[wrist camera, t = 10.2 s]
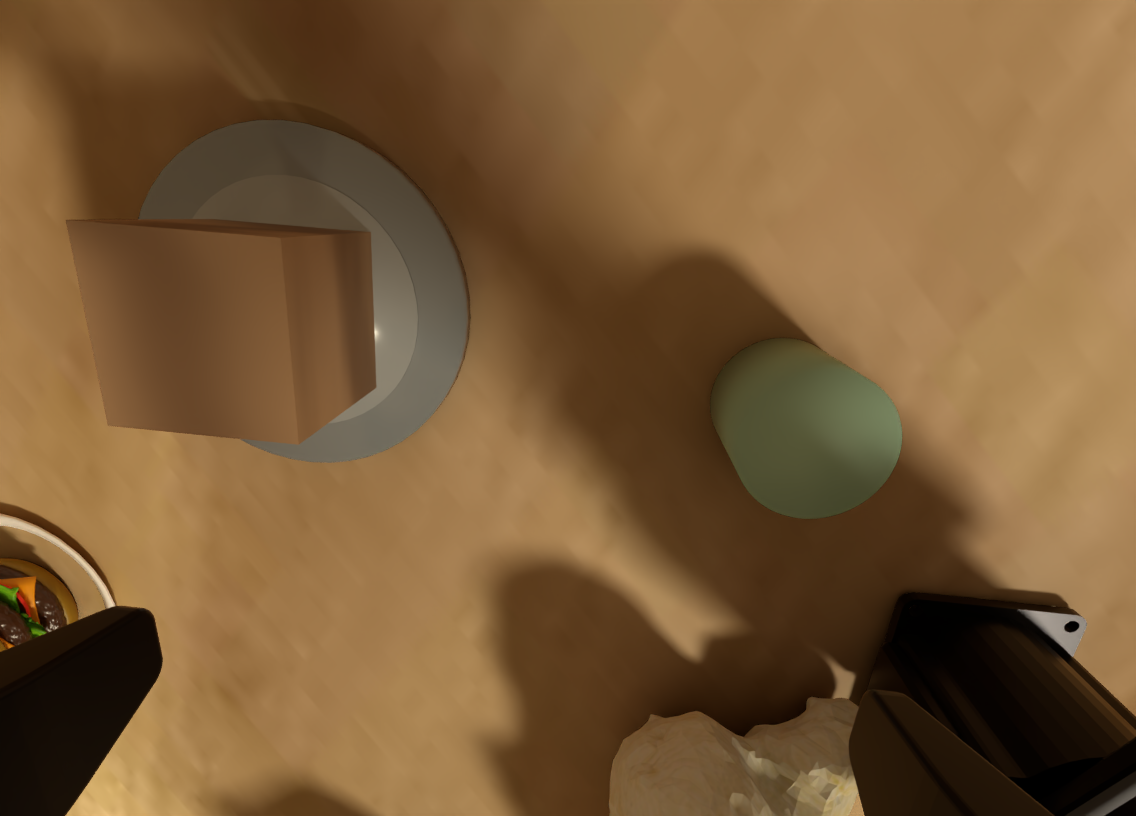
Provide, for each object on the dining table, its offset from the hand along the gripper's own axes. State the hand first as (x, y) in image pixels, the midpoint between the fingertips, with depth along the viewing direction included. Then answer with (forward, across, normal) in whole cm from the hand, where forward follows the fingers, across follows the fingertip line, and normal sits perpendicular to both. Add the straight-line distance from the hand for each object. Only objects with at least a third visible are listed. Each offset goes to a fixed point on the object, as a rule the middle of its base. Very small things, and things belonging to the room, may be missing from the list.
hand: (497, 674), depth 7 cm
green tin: (+13, -7, 0) cm, 15 cm away
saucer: (+13, +9, -2) cm, 16 cm away
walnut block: (+12, +9, -2) cm, 15 cm away
